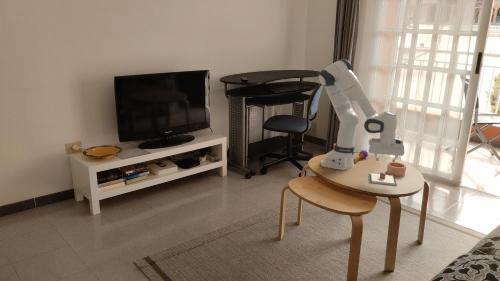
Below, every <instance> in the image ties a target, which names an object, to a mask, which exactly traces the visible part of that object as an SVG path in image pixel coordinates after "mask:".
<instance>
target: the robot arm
mask: <svg viewBox="0 0 500 281" xmlns="http://www.w3.org/2000/svg"><path fill="white" fill-rule="evenodd" d="M352 69H353V68H352V64H351V62H350V61H349V60H348V59H346V58H342V59H339V60H337V61H335V62H333V63H330V65H328V66H326V67H325V68H324V69H322V70H321V71H320V72H318V74H317V79H318V81H319V83H320V84H321V85H322V86H323V87H324V88H325V91H326V93H327V96H328V98H329V100H330V102H331V105H332V106H333V108H334V111H335V114H336V116H337V118H338V120H339V130H338V132H337V141H336V143H333V149H332V150H331V151H328V152H327V153H326V154H325V156H324V158H323V159H321V160H320V166H321V167H324V168H329V169H334V170H341V171H346V170H349V169H353V168H355V164H354V161H353V159H354V155H355V140H356V139H355V138H356V132H357V128H358V124H359V116H358V114H357V113H356V112H355V110H354V108H353V105H352V103H355V104H357V105H358V106H359V107H360V110H361V111H362V113H363V114H364V116H365V118H366V120H365V121H364V123H363V127H364V130H365V131H366V132H367V133H369V134H379V138H374V137H372V138H371V139H369V140H368V145H369V146H368V153H369V154H374V157H375V161H376V162H377V161H379V159H380V158H379V157H378V155H386V156H388V155H389V156H394V157H393V158H392V160H391V162H396V160H397V159H398V156H404V155H405V145H404V140H403V138H402V137H400V136H397V134H396V131H397V126H398V125H397V124H398V118H397V115H396V114H395V113H394V112H391V111H384V112H382V113H379V112H377V111H376V109H374V106H373V105H372V104H371V102H370V101H369V99H368V98H367V95H366V93H365V90H364V88H363V86H362V84H361V82H360V80H359V78H358V77H357V76H356V74H355V73H354V72H353V71H352ZM351 102H352V103H351Z"/></svg>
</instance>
